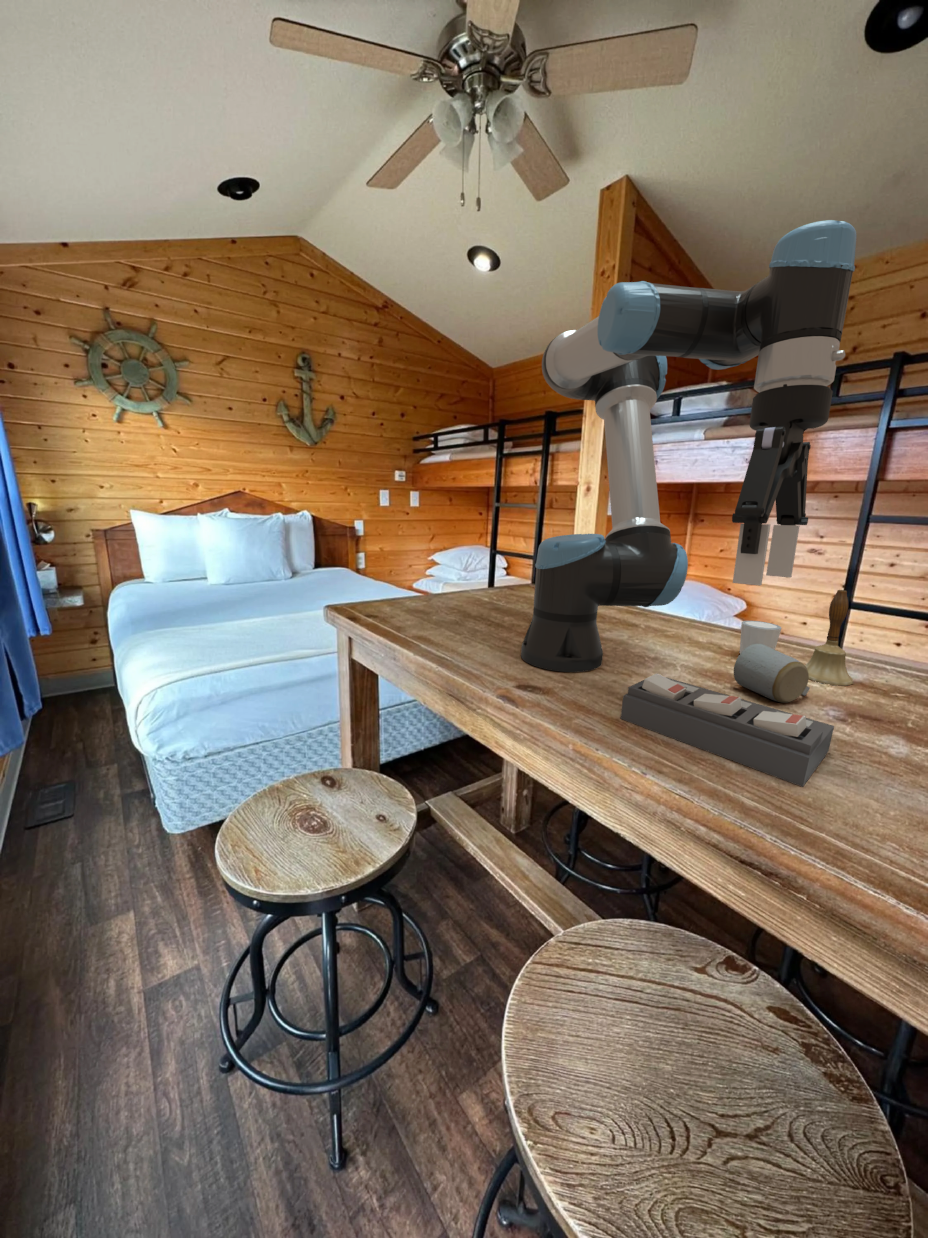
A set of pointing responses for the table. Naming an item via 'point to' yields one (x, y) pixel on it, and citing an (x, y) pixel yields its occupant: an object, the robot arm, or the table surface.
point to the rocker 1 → (664, 687)
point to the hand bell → (831, 648)
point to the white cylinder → (759, 634)
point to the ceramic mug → (771, 673)
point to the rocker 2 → (781, 723)
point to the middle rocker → (719, 704)
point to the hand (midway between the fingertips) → (763, 580)
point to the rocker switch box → (730, 732)
